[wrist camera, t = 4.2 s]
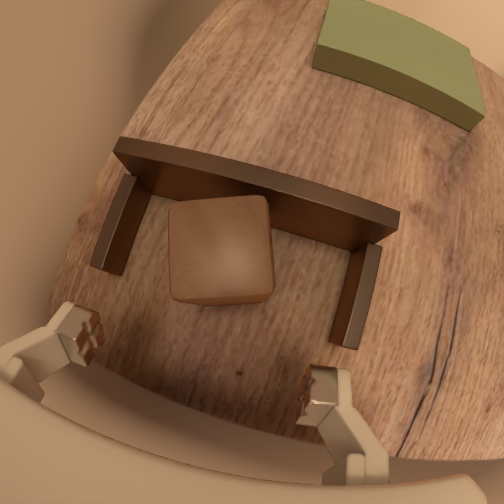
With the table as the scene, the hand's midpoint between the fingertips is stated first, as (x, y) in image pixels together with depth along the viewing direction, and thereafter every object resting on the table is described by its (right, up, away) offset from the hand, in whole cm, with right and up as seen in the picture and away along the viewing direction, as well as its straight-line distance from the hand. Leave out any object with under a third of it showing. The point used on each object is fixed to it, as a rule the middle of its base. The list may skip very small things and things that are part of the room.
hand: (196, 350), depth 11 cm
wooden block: (+1, +2, +9) cm, 9 cm away
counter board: (+16, +22, +12) cm, 30 cm away
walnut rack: (+1, +2, +9) cm, 9 cm away
